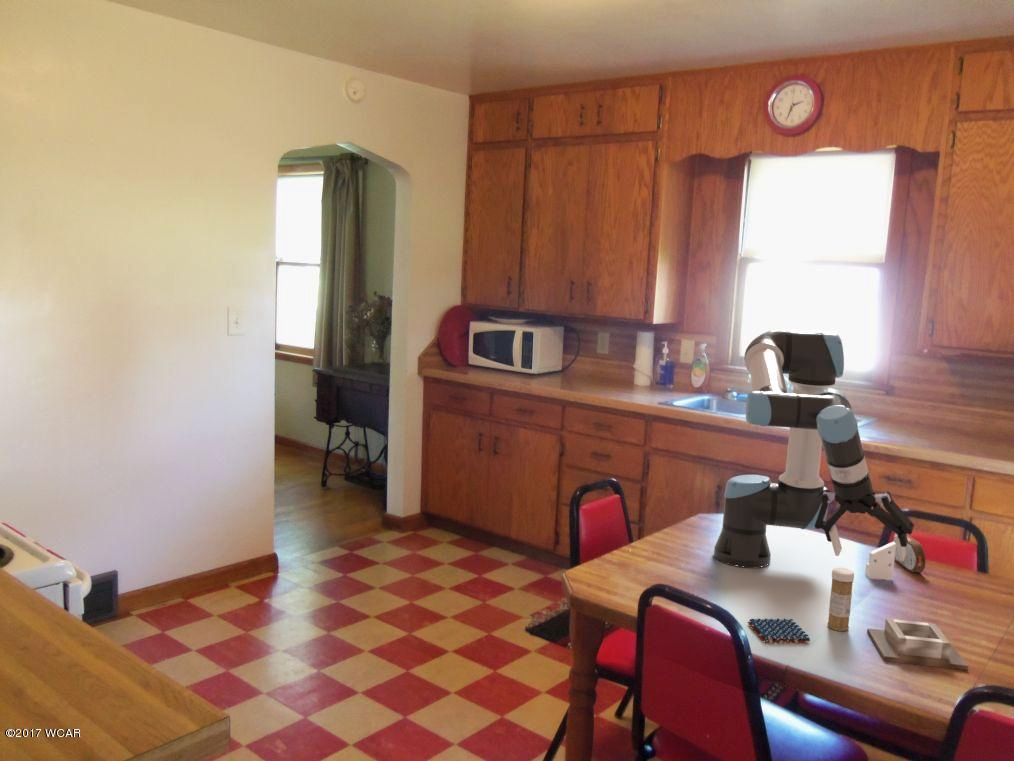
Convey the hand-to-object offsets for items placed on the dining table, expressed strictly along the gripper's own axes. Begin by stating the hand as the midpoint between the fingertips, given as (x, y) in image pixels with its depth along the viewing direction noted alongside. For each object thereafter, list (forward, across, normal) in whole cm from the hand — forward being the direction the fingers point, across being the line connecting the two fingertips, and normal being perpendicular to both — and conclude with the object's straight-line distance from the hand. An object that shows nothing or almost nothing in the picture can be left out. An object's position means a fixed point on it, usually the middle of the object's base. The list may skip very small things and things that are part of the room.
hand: (870, 554), depth 182 cm
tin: (+39, -7, +42) cm, 57 cm away
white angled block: (+32, -11, +29) cm, 44 cm away
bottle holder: (+16, +8, -10) cm, 21 cm away
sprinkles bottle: (+14, -8, -9) cm, 19 cm away
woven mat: (+8, -16, -21) cm, 27 cm away
